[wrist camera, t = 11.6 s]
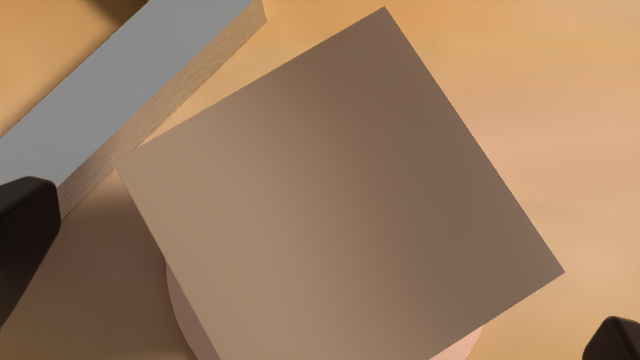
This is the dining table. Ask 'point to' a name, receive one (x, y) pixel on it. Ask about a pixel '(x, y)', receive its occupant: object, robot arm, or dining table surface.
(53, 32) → the dining table surface
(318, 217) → the walnut block
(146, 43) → the metal collar stand
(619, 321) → the robot arm
